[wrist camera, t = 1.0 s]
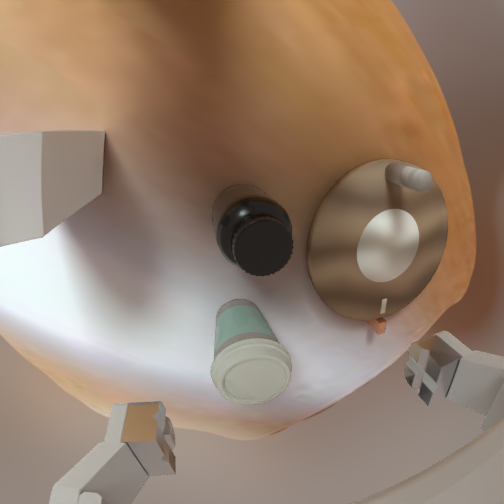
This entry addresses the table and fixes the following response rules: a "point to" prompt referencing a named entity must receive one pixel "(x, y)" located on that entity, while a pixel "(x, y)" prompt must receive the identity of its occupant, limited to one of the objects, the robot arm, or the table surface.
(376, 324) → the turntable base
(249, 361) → the coffee cup
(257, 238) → the supplement bottle
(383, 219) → the turntable
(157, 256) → the table surface
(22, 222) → the milk carton
